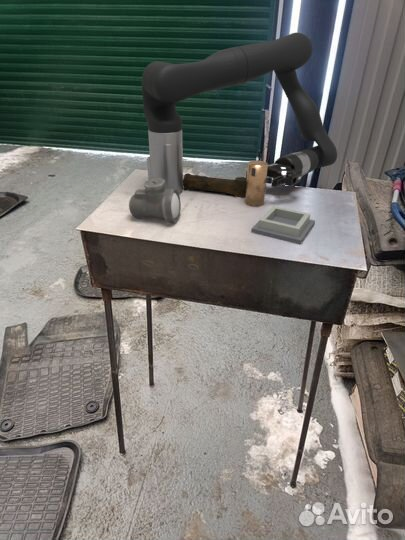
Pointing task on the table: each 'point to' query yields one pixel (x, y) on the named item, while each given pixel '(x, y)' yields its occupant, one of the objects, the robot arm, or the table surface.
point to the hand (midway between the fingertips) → (259, 179)
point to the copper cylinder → (256, 183)
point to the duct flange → (284, 224)
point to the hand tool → (216, 184)
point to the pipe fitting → (156, 201)
